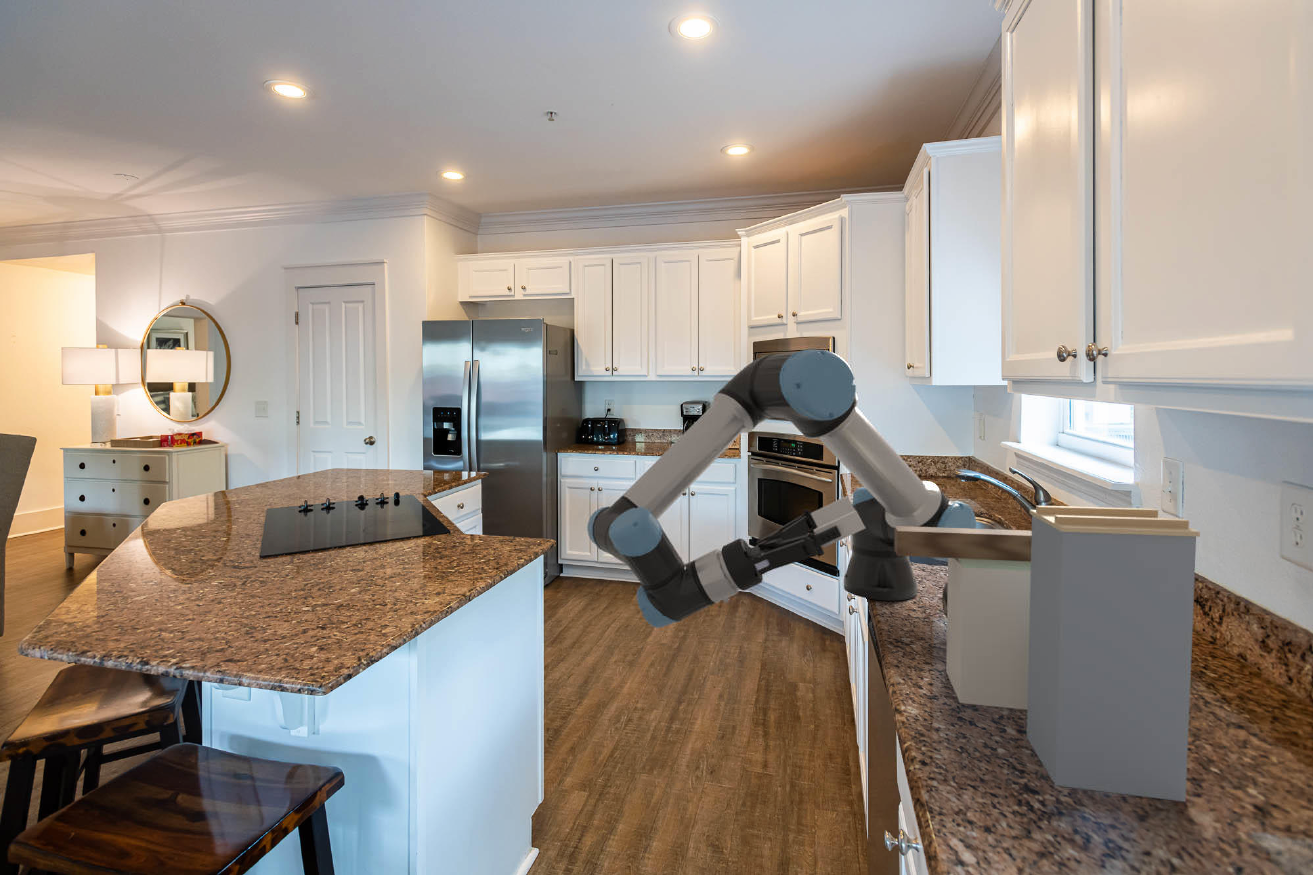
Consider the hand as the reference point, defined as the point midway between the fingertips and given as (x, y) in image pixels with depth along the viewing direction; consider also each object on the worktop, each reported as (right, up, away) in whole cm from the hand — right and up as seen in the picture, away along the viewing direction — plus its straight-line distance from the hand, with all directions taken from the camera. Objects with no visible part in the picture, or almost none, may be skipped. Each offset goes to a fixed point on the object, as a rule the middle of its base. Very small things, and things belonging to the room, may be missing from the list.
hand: (856, 510), depth 95 cm
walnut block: (+18, -6, -5) cm, 20 cm away
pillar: (+21, -27, -23) cm, 41 cm away
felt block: (+23, -25, -5) cm, 35 cm away
